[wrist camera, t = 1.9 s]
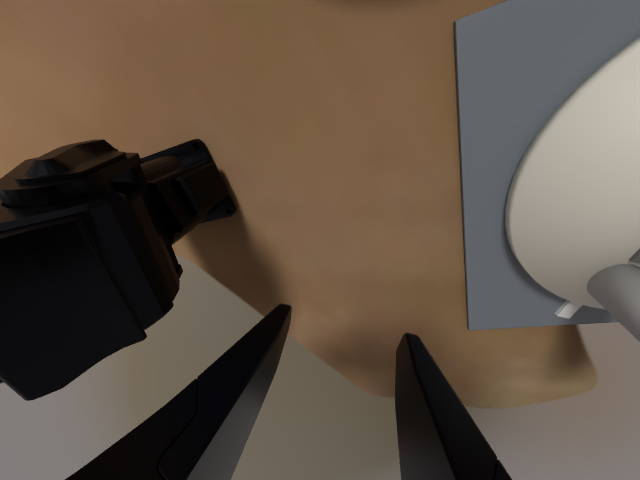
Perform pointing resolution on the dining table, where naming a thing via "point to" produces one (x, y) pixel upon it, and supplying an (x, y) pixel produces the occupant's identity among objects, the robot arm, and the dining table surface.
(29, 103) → the dining table surface
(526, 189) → the dial
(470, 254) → the board
